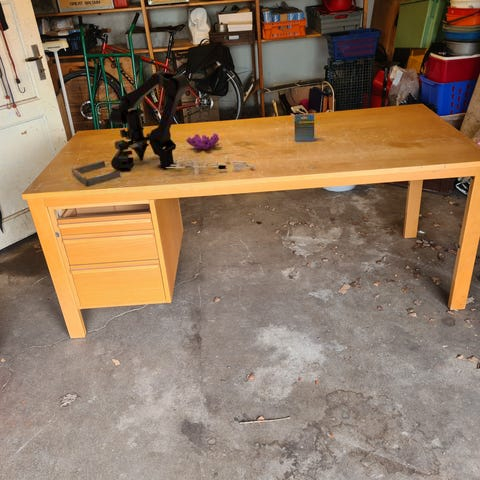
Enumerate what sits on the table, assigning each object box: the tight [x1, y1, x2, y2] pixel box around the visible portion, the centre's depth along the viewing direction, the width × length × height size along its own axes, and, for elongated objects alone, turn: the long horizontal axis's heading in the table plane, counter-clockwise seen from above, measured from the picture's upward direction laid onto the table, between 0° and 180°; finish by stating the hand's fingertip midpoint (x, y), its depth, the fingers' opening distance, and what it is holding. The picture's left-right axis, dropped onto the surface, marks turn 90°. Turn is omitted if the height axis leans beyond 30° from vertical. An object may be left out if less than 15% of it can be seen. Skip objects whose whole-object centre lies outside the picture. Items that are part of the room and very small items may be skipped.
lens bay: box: [71, 160, 121, 187], centre depth 188 cm, size 17×14×3 cm
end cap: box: [110, 150, 135, 173], centre depth 193 cm, size 10×7×7 cm
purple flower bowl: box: [186, 133, 220, 150], centre depth 208 cm, size 11×15×10 cm
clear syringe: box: [166, 155, 255, 176], centre depth 187 cm, size 6×35×12 cm
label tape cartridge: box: [294, 113, 315, 143], centre depth 208 cm, size 9×4×12 cm, turn 84°
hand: (141, 160), depth 198 cm, fingers closed
